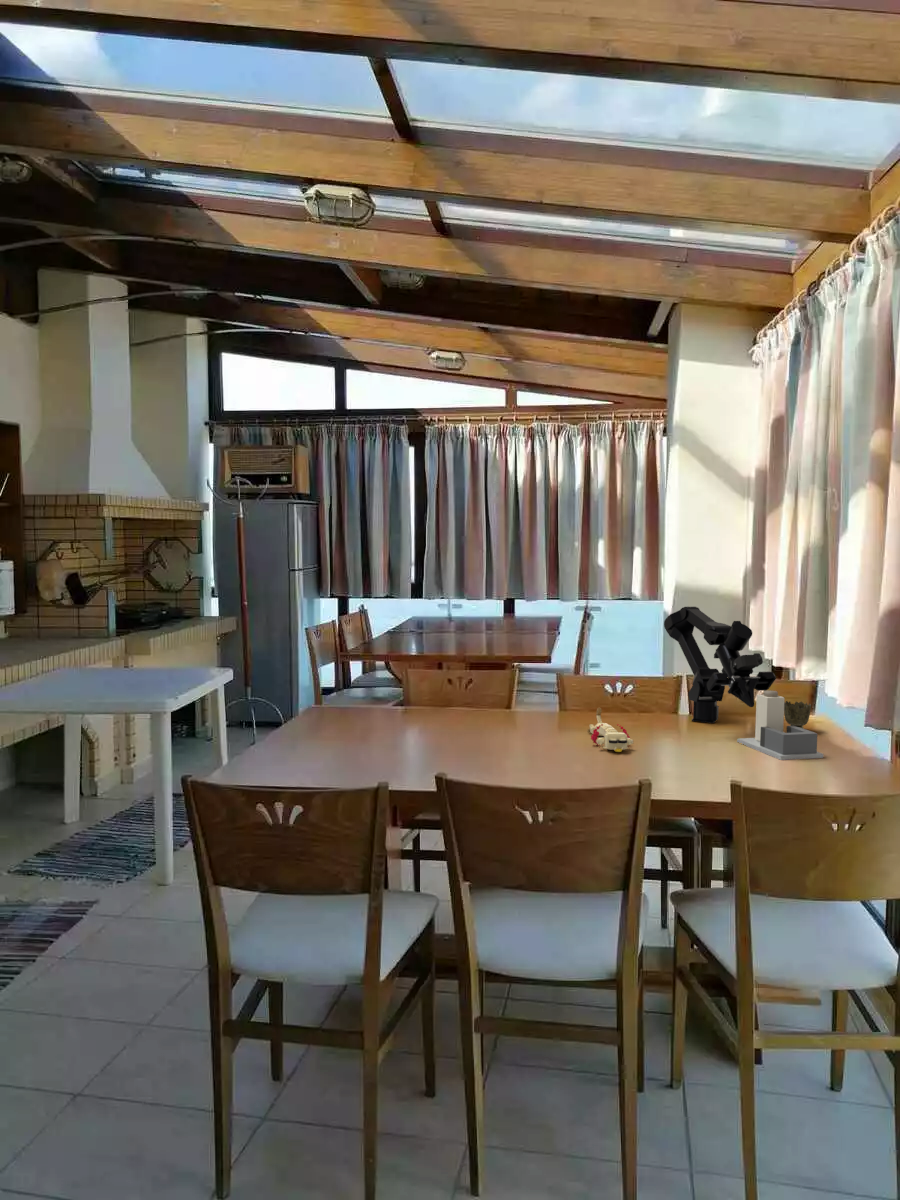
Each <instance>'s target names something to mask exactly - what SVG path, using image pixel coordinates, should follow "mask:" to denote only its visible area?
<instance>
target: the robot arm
mask: <svg viewBox="0 0 900 1200" xmlns="http://www.w3.org/2000/svg"><path fill="white" fill-rule="evenodd" d="M663 627H664V629H665V631H666V633H667V634H668V636H669V638H671V639H673V640H675V641H676V642H677V643H678V644H679V647H680V649H681V651H682V653H683V655H684V657H685V659H686V661H687V663H688V665H689V667H690V670H691V672H692V674H693V676H694V677H693V678H692V683H691V684H692V686H691V687H690V690H689V691H688V692H687V694H688V700H689V701H691V702H693V714H692V715H693V717H692V718H691V722H696V721H701V722H700V723H705V722H708V724H715V723H716V722H717V721H718V720H719V711H720V709H719V705H718V702H723V697H724V693H725V689H726V686H728V688H729V689H728V690H727V694H731V695H732V696H734V697H735V698H737V699H738V700H740V701H741V702H742V703H744V704H746V706H748V707H749V708H754V707H755V690H756V691H758V692H760V691H766V690H769V689H770V688H771V686H772V685H773V684H774V682H775V681H776V679H777V678H776V675H775V673H774V672H773V671H771V670H770V671H769V670H768V671H758V673H757V674H756V675H755V676H753V675H752V674H753V673H754V670H753V669H755V668H758V667H759V666H761V665H762V664H763V663H764V661H763V660H764V659H763V657H762V655H761V653H760V652H758V653H757V652H756V653H753V654H740V652H739V651H742V650H744V648H745V647H746V645H747V644H748V643H749V641H750V639H751V638H752V636H753V631H752V629H751V628H750V627H749V626H748V625H746V624H744V623H742V622H741V620H733V621H732V624H731V625H729V624H727V623H724V622H723V623H722V622H717V621H715V620H714V619H712V618H711V617H709V616H708V615H707V614H706V613H704V612H703V611H702V610H700V608H699V607H697V606H684V607H683V606H682V608H680V610H677V611H675V612H672V613H671V614H669V615H668V616H667V617H666V618H665V619H664V621H663ZM694 629H697V630H698V631H700V632H701V633H702V634H703V639H704V641H706V643H707V644H708V645H709V646H717V648H716V649H715V652H714V654H713V659H719V661H720V663H721V667H722V669H721V672H720V671H719V669H717V668H710V667H709V665H708V662H707V661H706V659H705V657H704V654H703V653H702V650H701V648H700V647H699V645H698V643H697V640H696V639H695V636H694V633H693V632H694ZM751 675H752V676H751ZM716 720H717V721H716ZM715 721H716V722H715Z"/></svg>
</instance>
